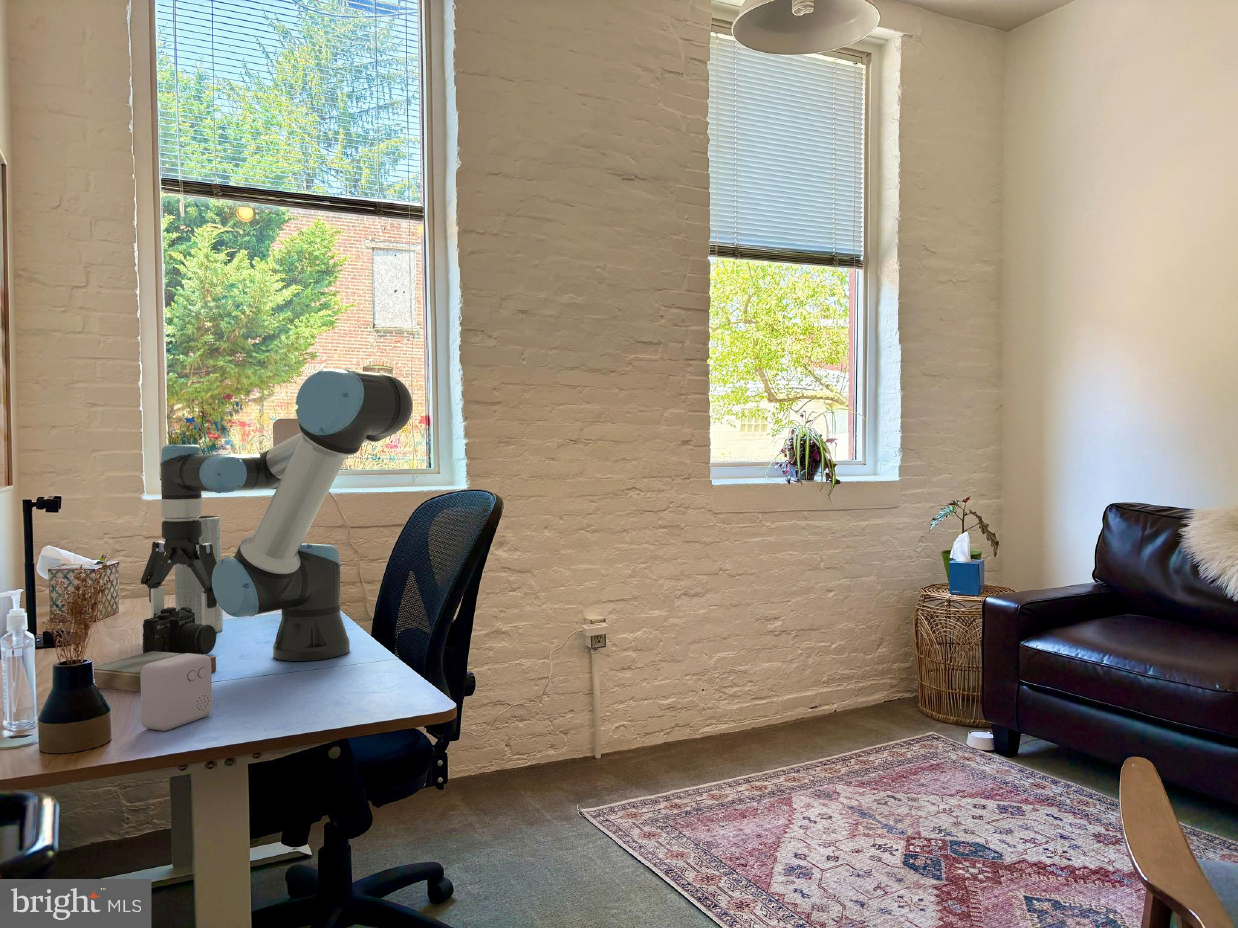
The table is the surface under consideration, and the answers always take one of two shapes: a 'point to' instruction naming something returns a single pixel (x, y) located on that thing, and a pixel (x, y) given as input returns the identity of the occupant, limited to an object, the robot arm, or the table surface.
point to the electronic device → (175, 691)
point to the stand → (131, 670)
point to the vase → (186, 581)
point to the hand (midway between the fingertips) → (182, 621)
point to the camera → (177, 633)
